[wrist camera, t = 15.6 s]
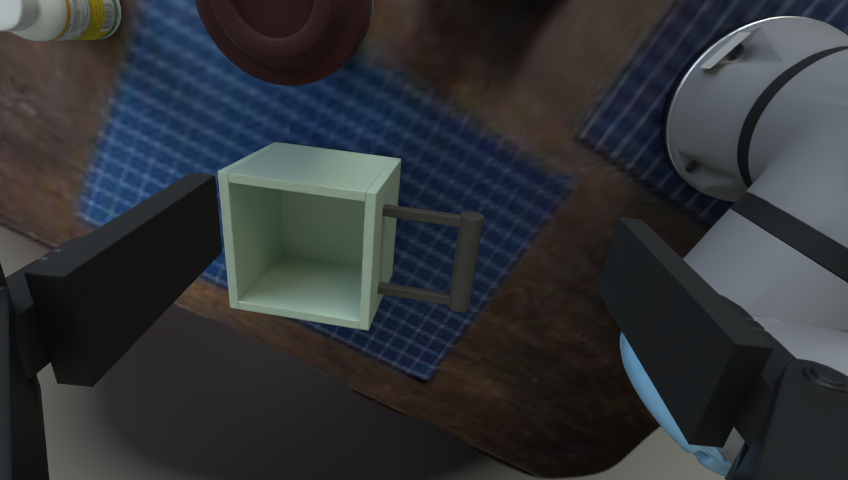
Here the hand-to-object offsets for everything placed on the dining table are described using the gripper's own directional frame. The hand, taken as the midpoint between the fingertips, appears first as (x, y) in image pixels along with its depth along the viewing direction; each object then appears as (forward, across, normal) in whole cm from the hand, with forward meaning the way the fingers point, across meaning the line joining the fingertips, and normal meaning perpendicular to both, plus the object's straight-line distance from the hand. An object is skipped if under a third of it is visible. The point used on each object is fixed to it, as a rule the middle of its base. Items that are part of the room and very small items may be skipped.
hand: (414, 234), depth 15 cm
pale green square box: (+28, +4, +11) cm, 30 cm away
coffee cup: (+29, +9, -7) cm, 31 cm away
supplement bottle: (+29, +29, -5) cm, 41 cm away
